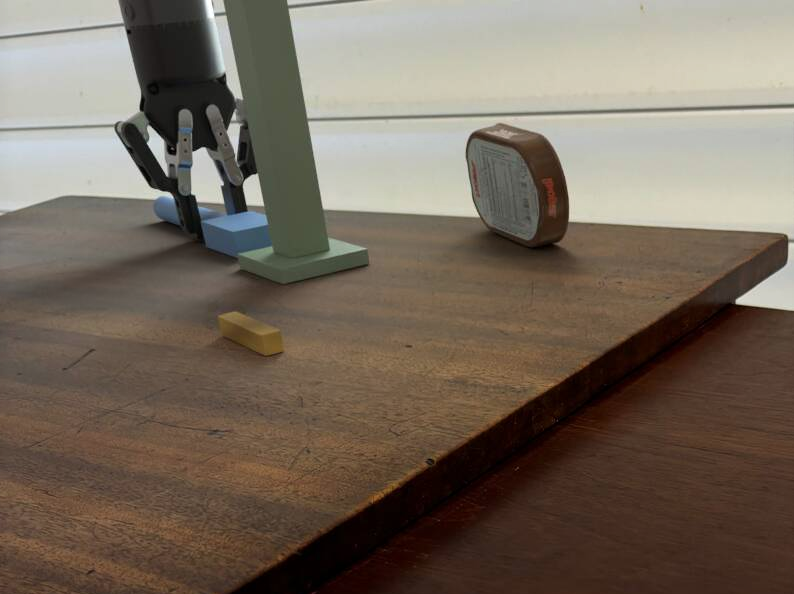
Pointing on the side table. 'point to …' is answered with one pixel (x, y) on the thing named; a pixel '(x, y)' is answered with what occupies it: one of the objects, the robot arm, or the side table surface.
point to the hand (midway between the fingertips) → (217, 232)
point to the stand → (282, 148)
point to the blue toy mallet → (223, 228)
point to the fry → (251, 333)
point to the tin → (518, 184)
